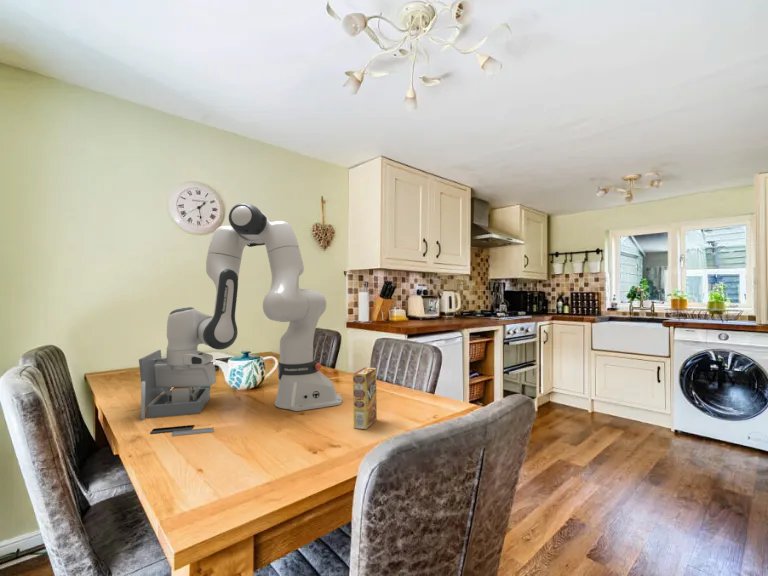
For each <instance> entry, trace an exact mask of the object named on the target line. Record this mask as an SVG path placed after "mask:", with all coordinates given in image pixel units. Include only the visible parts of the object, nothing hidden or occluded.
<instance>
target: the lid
mask: <svg viewBox="0 0 768 576" xmlns="http://www.w3.org/2000/svg"><path fill="white" fill-rule="evenodd" d="M155 358H162V351H161V349H157V350H156V351H154V352H151V353H149V354H147V355H145V356H143V357H141V358H139V359H138V363H139V364H138V365H139V376H140V383H141V382H142V381H145V408H147V406H148V405H149V404H150V403H152V402H153V401H154V400H155V399H156V398H157V397H158V396H160V395H161V394H162V393H163V392H164V387H163V388H156V380H155V369H154V365H155ZM158 362H159V361H158Z"/></svg>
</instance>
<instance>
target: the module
mask: <svg viewBox="0 0 768 576" xmlns="http://www.w3.org/2000/svg"><path fill="white" fill-rule="evenodd" d="M171 390H172V403H185V402H192V401H190V395H191V394H192V387H172V388H171Z"/></svg>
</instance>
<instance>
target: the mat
mask: <svg viewBox="0 0 768 576" xmlns="http://www.w3.org/2000/svg"><path fill="white" fill-rule="evenodd" d="M193 426H195V424H188V425H178V426H169V427H168V426H166V427H158V428H156V427H155V428H153V429H152V430H150V432H149V434H150V435H153V434H155V435H156V434H163V433H164V434H165V432H167V433H172V432H173V431H181V430H191V429H193V428H194V427H193Z"/></svg>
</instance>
